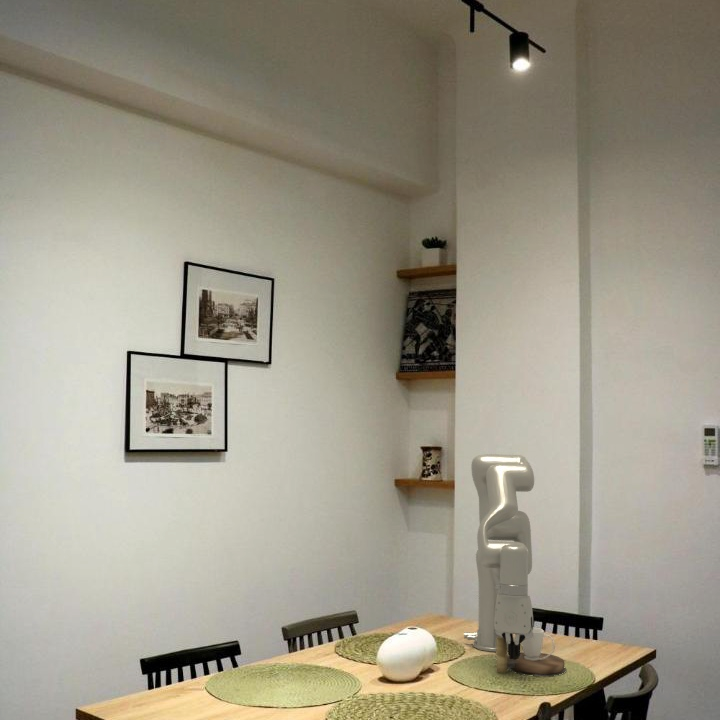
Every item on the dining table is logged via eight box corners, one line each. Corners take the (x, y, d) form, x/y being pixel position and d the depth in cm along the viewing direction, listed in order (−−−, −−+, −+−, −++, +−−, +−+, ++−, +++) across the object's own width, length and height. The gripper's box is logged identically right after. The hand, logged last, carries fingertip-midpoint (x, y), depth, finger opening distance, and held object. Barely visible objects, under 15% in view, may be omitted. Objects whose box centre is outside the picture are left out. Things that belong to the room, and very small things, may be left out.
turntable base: (505, 674, 237) (505, 673, 237) (505, 658, 253) (505, 657, 253) (568, 678, 234) (568, 677, 234) (563, 662, 251) (563, 661, 251)
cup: (522, 654, 249) (522, 626, 250) (556, 658, 245) (556, 629, 246) (517, 659, 243) (517, 630, 243) (552, 664, 239) (552, 634, 239)
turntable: (539, 656, 254) (539, 626, 255) (576, 670, 240) (576, 637, 241) (480, 664, 244) (480, 632, 245) (515, 679, 230) (515, 645, 231)
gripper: (483, 589, 238) (483, 657, 235) (535, 594, 230) (535, 665, 228) (493, 586, 244) (493, 652, 242) (544, 591, 236) (544, 659, 234)
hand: (514, 658), depth 235 cm, fingers closed
